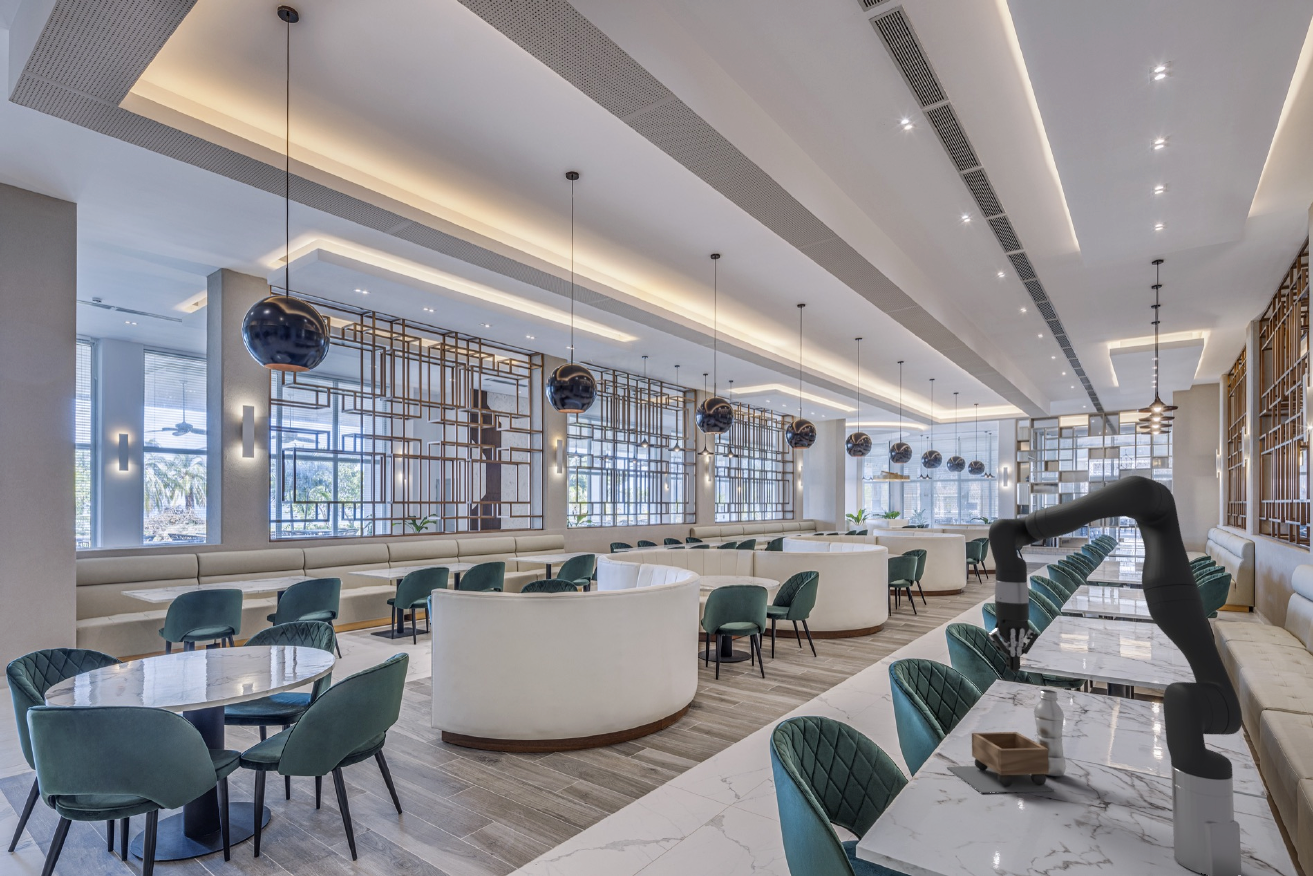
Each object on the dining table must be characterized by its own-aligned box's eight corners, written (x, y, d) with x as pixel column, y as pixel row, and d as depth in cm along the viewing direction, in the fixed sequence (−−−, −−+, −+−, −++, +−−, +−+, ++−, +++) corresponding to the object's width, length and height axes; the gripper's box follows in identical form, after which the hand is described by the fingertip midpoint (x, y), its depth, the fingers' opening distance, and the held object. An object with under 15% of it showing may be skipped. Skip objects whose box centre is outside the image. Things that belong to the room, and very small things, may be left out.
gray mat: (1054, 791, 166) (1053, 789, 166) (981, 794, 163) (981, 792, 163) (1014, 766, 180) (1013, 765, 181) (946, 768, 178) (946, 767, 178)
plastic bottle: (1070, 781, 172) (1068, 696, 173) (1039, 778, 173) (1038, 693, 175) (1060, 770, 178) (1059, 688, 180) (1031, 768, 180) (1029, 687, 181)
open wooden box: (1049, 786, 167) (1048, 749, 168) (1001, 787, 166) (1000, 750, 166) (1017, 766, 179) (1016, 732, 180) (972, 767, 178) (971, 733, 178)
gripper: (996, 602, 172) (998, 675, 171) (1046, 601, 174) (1048, 674, 173) (978, 597, 180) (979, 668, 178) (1025, 597, 182) (1027, 667, 180)
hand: (1013, 671), depth 175 cm, fingers closed
